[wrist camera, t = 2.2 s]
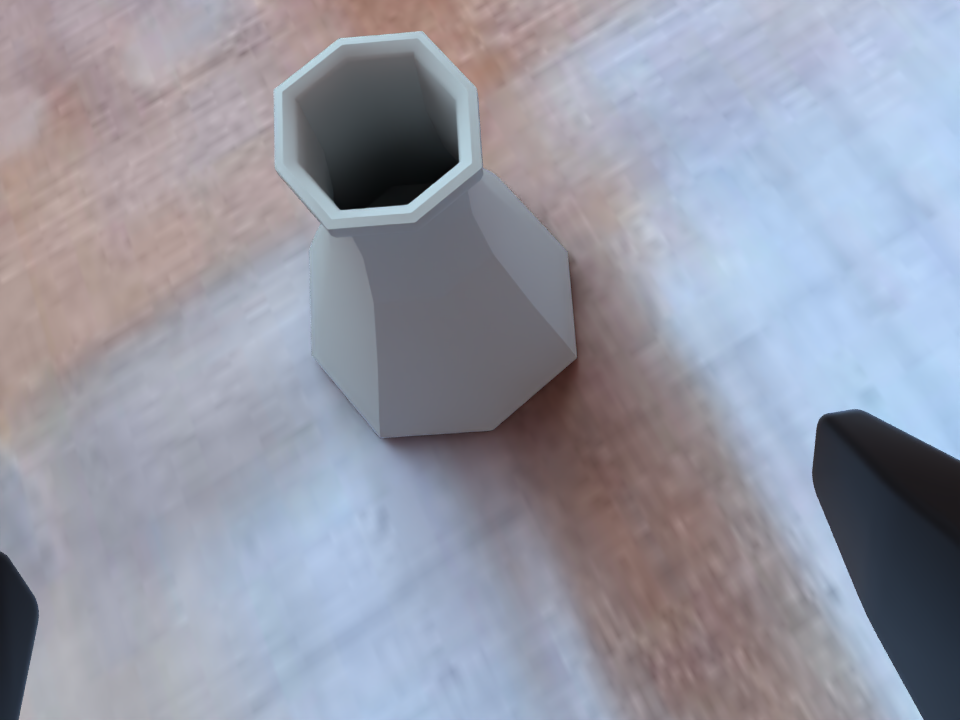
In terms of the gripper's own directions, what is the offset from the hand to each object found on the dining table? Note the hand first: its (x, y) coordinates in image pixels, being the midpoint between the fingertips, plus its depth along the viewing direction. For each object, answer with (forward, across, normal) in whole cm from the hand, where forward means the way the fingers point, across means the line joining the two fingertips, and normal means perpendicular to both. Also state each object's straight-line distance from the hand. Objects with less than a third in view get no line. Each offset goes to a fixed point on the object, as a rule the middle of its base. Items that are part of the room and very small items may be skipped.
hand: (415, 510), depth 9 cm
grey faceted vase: (+12, 0, +5) cm, 13 cm away
